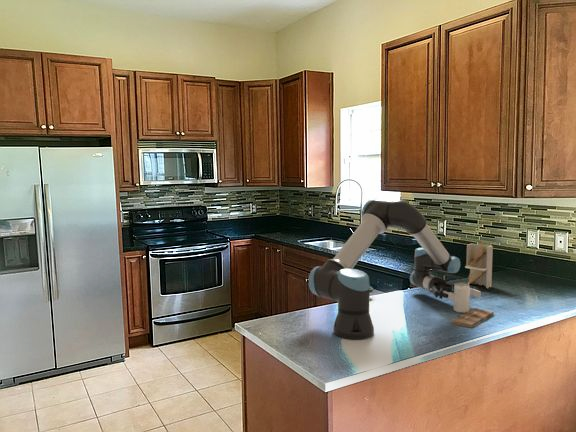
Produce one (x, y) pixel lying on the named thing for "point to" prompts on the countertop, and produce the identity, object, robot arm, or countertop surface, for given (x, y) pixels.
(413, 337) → the countertop surface
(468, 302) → the can
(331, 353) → the countertop surface
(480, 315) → the walnut board
